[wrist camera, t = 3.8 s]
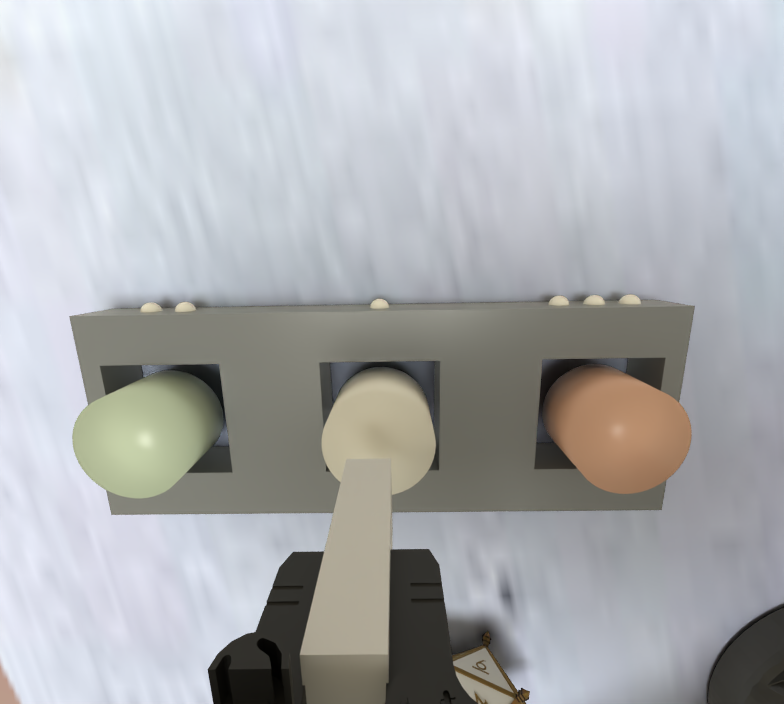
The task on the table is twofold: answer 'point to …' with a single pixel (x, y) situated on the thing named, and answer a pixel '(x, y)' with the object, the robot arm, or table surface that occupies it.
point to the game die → (486, 677)
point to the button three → (616, 428)
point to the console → (383, 344)
